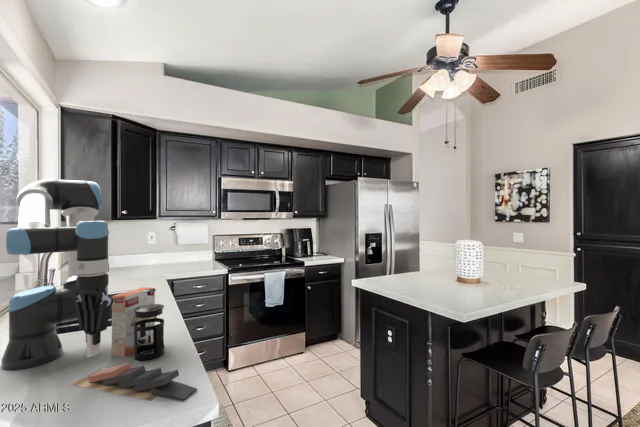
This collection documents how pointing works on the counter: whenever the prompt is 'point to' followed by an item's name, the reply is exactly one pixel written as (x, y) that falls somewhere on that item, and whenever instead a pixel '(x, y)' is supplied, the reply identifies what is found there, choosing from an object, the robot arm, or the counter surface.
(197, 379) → the counter surface
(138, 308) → the french press
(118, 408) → the counter surface
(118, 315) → the cracker box
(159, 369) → the domino
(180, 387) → the domino
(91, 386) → the oak board
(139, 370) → the domino
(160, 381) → the domino
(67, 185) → the robot arm
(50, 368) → the counter surface
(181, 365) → the counter surface
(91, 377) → the loose domino
